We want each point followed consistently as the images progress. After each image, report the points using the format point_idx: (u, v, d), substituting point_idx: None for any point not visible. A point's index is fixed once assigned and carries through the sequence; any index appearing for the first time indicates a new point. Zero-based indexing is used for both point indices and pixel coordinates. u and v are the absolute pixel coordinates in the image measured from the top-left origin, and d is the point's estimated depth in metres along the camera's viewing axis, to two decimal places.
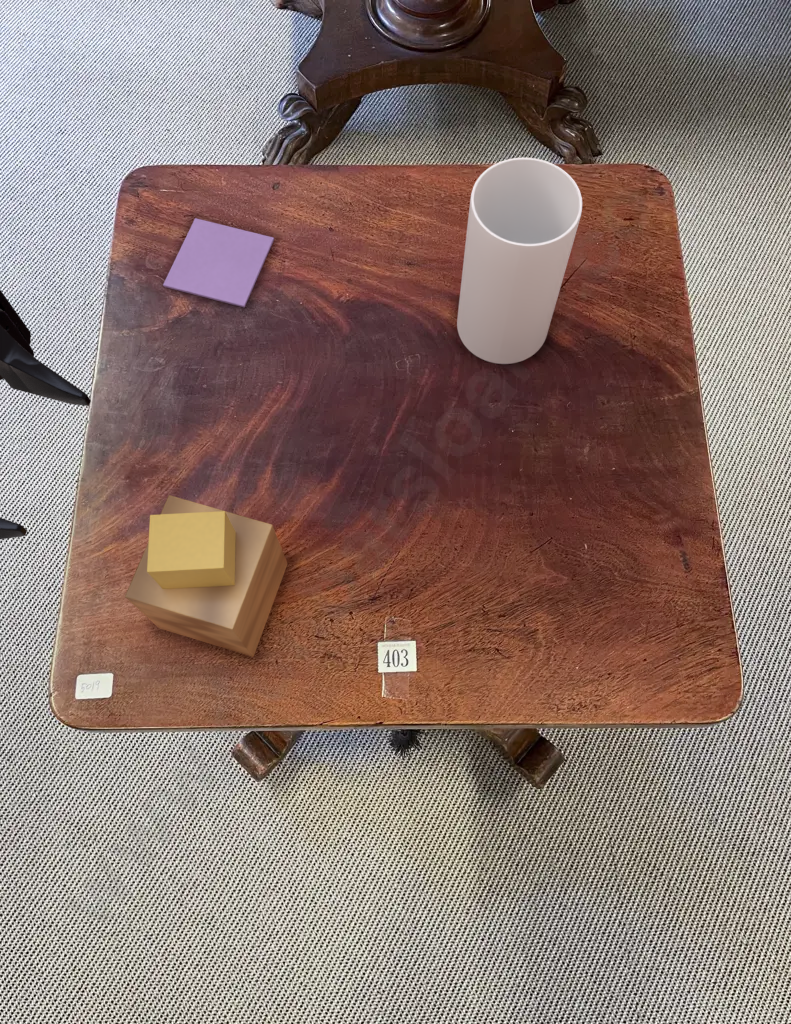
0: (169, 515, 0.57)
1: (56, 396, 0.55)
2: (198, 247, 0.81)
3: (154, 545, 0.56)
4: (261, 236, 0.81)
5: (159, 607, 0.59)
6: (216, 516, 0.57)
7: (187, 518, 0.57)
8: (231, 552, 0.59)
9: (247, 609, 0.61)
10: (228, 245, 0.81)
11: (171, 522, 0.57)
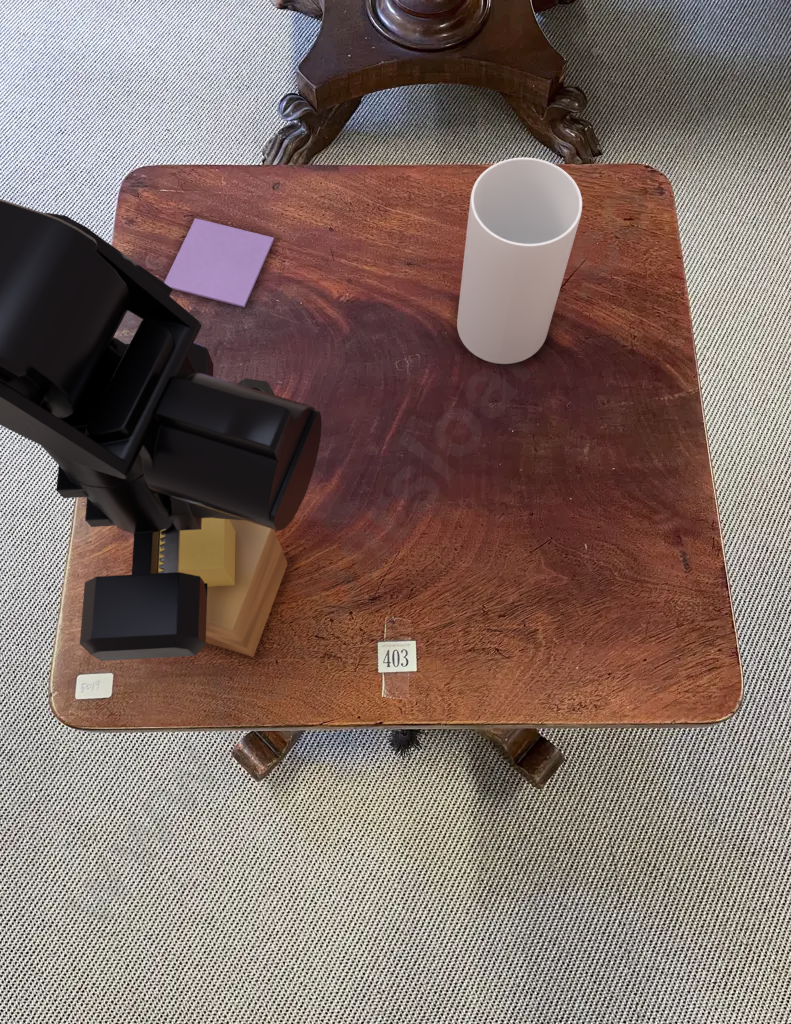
0: None
1: None
2: (198, 247, 0.81)
3: None
4: (261, 236, 0.81)
5: None
6: None
7: None
8: (231, 552, 0.59)
9: (247, 609, 0.61)
10: (228, 245, 0.81)
11: None
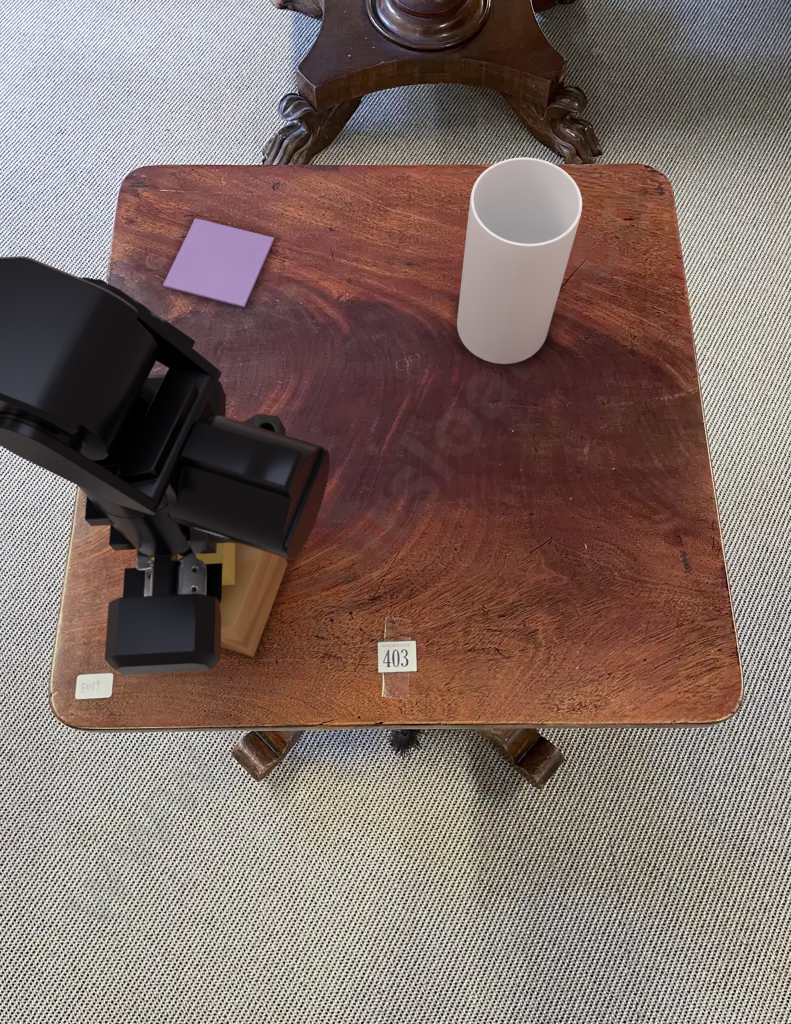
0: None
1: None
2: (198, 247, 0.81)
3: None
4: (261, 236, 0.81)
5: None
6: None
7: None
8: (231, 552, 0.59)
9: (247, 609, 0.61)
10: (228, 245, 0.81)
11: None
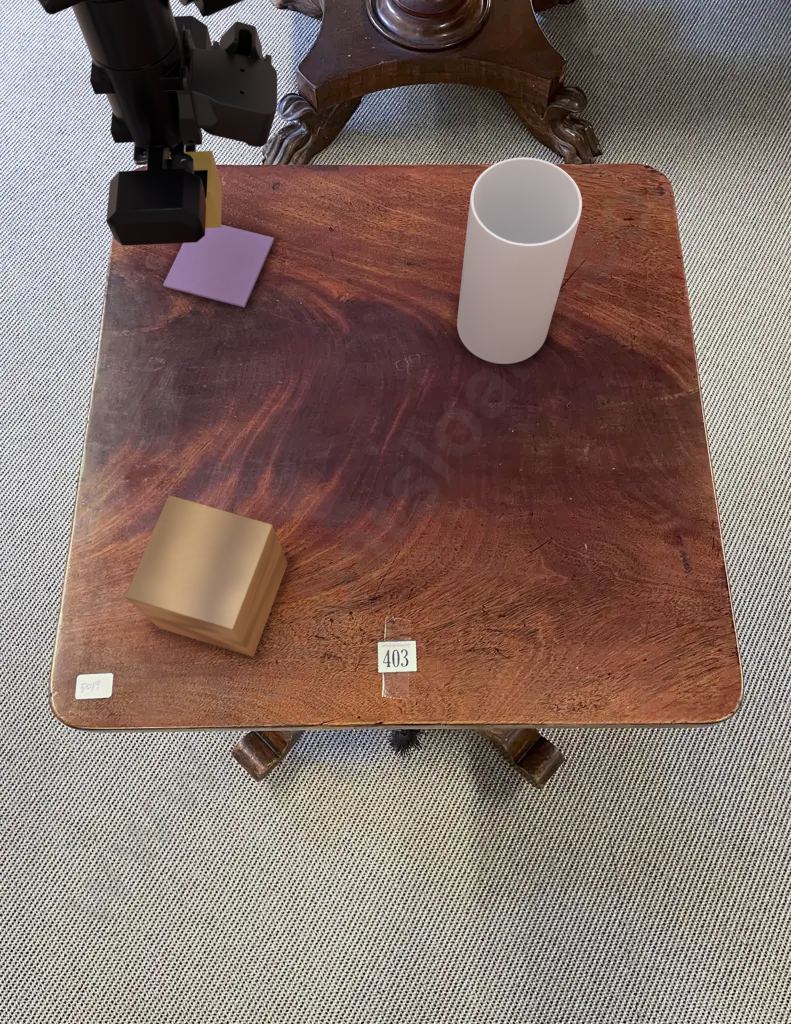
0: None
1: None
2: (198, 247, 0.81)
3: None
4: (261, 236, 0.81)
5: (159, 607, 0.59)
6: (204, 154, 0.66)
7: None
8: (218, 195, 0.67)
9: (247, 609, 0.61)
10: (228, 245, 0.81)
11: None
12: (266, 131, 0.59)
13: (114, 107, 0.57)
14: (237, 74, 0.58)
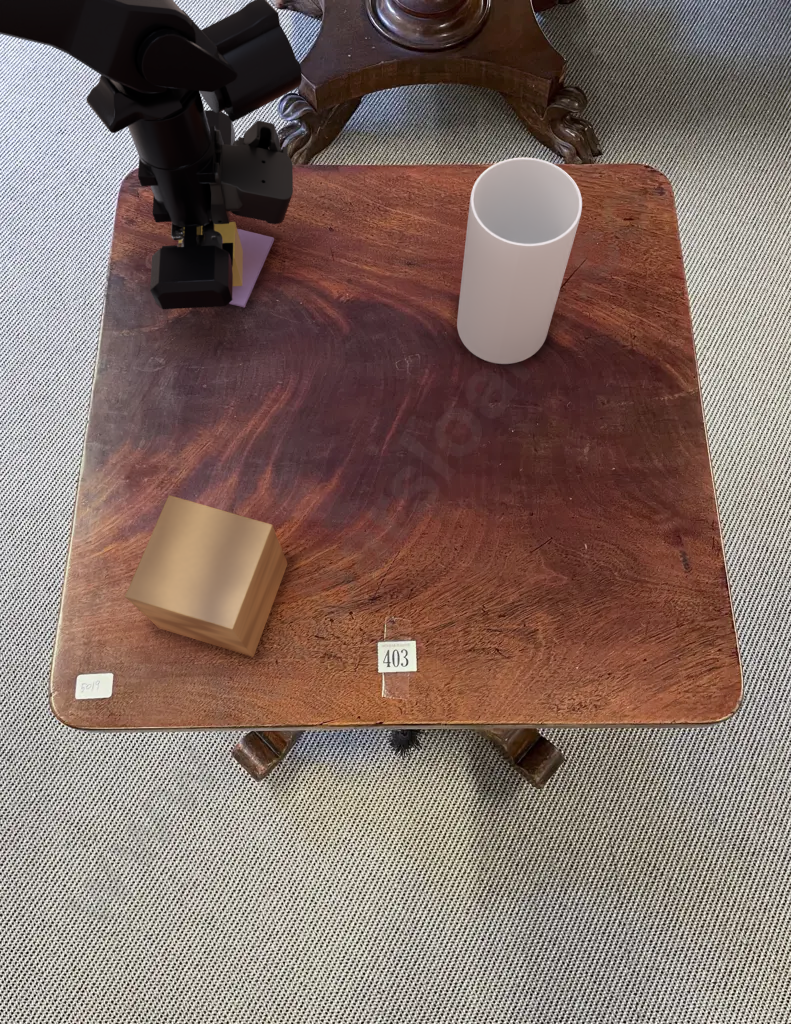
0: None
1: None
2: None
3: None
4: (261, 236, 0.81)
5: (159, 607, 0.59)
6: (228, 225, 0.77)
7: None
8: (239, 258, 0.78)
9: (247, 609, 0.61)
10: None
11: None
12: (283, 212, 0.70)
13: (156, 195, 0.68)
14: (259, 165, 0.69)
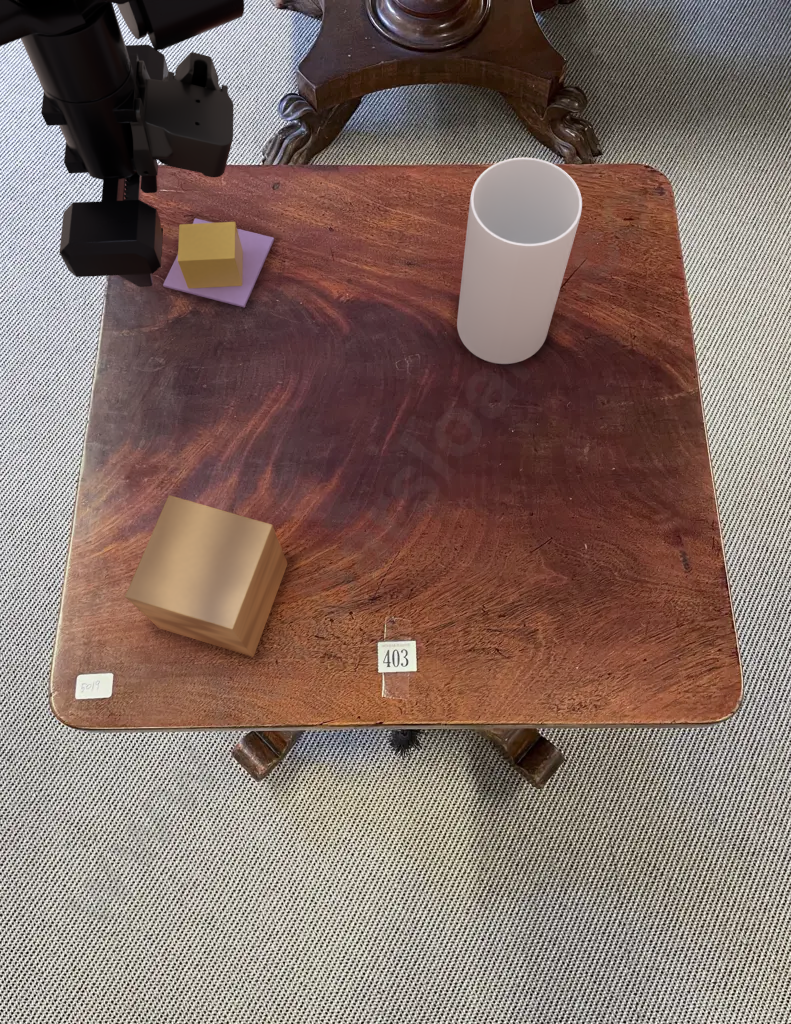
0: (193, 224, 0.77)
1: None
2: None
3: (183, 244, 0.76)
4: (261, 236, 0.81)
5: (159, 607, 0.59)
6: (228, 225, 0.77)
7: (207, 226, 0.77)
8: (239, 258, 0.78)
9: (247, 609, 0.61)
10: None
11: (195, 228, 0.76)
12: (222, 162, 0.59)
13: (67, 138, 0.56)
14: (192, 105, 0.57)
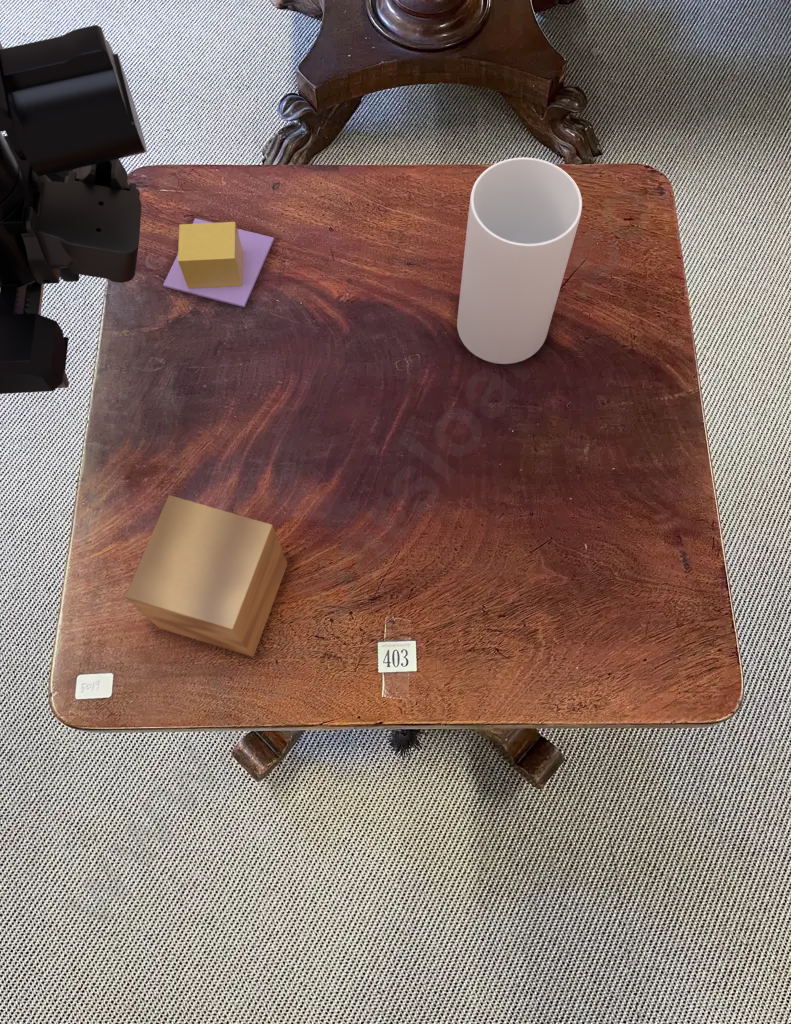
0: (193, 224, 0.77)
1: None
2: None
3: (183, 244, 0.76)
4: (261, 236, 0.81)
5: (159, 607, 0.59)
6: (228, 225, 0.77)
7: (207, 226, 0.77)
8: (239, 258, 0.78)
9: (247, 609, 0.61)
10: None
11: (195, 228, 0.76)
12: (130, 268, 0.54)
13: None
14: (94, 209, 0.53)
